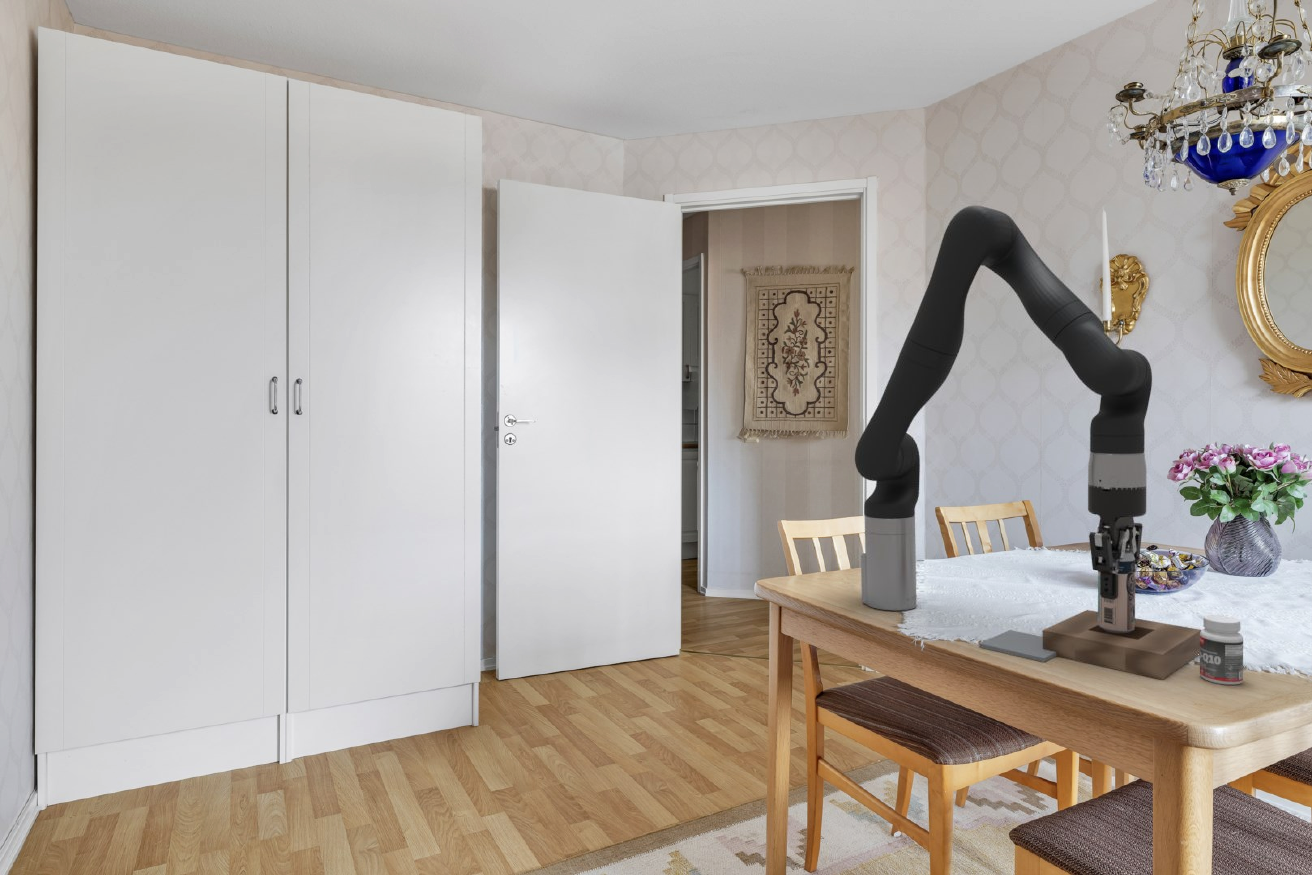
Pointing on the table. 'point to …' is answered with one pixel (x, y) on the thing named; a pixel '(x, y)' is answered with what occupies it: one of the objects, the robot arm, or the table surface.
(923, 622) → the table surface
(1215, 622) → the pill bottle
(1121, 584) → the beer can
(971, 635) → the table surface
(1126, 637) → the block
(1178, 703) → the table surface
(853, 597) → the table surface
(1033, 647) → the mat
